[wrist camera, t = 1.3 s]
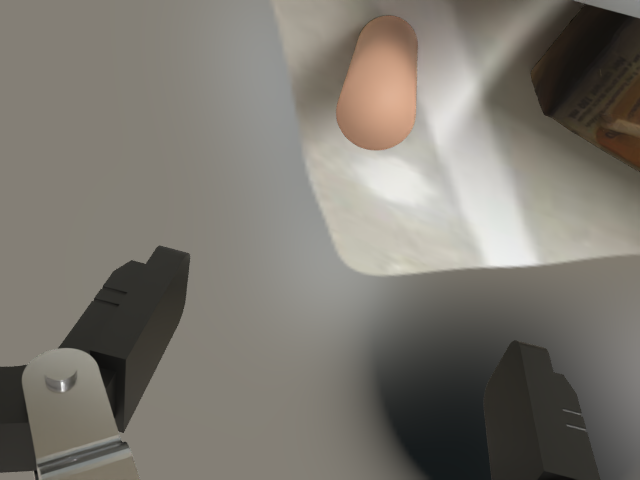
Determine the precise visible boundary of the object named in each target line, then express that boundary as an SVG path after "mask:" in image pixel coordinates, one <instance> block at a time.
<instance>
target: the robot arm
mask: <svg viewBox="0 0 640 480" xmlns="http://www.w3.org/2000/svg"><path fill="white" fill-rule="evenodd" d="M189 263H190V254H189V253H186V252H182V251H178V250H175V249H171V248H167V247H163V246H158V247H157V248H156V249H155V251H154V252H153V254H152V256H151V257H150V259H149V260H148V262H147V263H146V264H144V263H140V262H136V261H132V260H131V261H130V262H128V263H126V264H125V265H123V266H121V267H120V268H118V269H116V270H115V271H114V272H113V273H112V274H111V276H110V277H109V279H108V280H107V281H106V283H105V284H104V285H103V288H102V289H101V290H100V291H99V293H98V294H97V295H96V297H95V298H94V301H92V302H91V304H90V305H89V306H88V308H87V309H86V311H85V312H84V314H83V315H82V316H81V317H80V319H79V320H78V322H77V323H76V325H75V326H74V327H73V329H72V330H71V331H70V333H69V334H68V336H67V337H66V338H65V340H64V341H63V343H62V344H61V345H60V346H59V348H58V349H54V350H50V351H47V352H45V353H42V354H41V355H39V356H37V357H36V358H34V359H33V360H32V361H31V362H30V363H29V364H28V365H23V366H14V367H0V472H1V473H2V472H18V471H33V474H34V480H140V477H139V474H138V471H137V468H136V465H135V462H134V459H133V455H132V452H131V450H130V448H129V445H128V444H127V443H126V442H122V441H121V438H120V436H119V432H122V433H124V431H125V429H126V427H127V425H128V423H129V421H130V419H131V417H132V415H133V413H134V411H135V409H136V407H137V405H138V403H139V401H140V399H141V397H142V395H143V393H144V391H145V389H146V387H147V385H148V383H149V381H150V379H151V378H152V376H153V373H154V372H155V370H156V368H157V365H158V364H159V362H160V360H161V358H162V355H163V354H164V352H165V350H166V348H167V346H168V344H169V342H170V339H171V338H172V336H173V334H174V332H175V330H176V328H177V326H178V324H179V321H180V319H181V316H182V313H183V309H184V305H185V300H186V291H187V282H188V272H189ZM484 414H485V423H486V432H487V441H488V450H489V459H490V468H491V477H492V480H600V477H599V473H598V469H597V466H596V462H595V459H594V455H593V451H592V448H591V444H590V441H589V437H588V434H587V432H585V430H586V427H585V423H584V419H583V417H581V409H580V405H579V402H578V398H577V394H576V393H575V391H574V390H573V388H572V387H571V385H570V384H569V382H568V381H567V380H566V378H565V377H564V375H562V374H558V373H554V372H553V369H552V365H551V360H550V356H549V353H548V351H547V349H546V348H543V347H539V346H536V345H531V344H528V343H524V342H520V341H517V340H514V341H513V342H511V343H510V345H509V347H508V348H507V350H506V352H505V353H504V355H503V357H502V359H501V360H500V362H499V364H498V365H497V367H496V369H495V371H494V372H493V374H492V376H491V378H490V379H489V382H488V384H487V386H486V390H485V395H484ZM118 431H119V432H118Z"/></svg>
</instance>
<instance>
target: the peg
mask: <svg viewBox="0 0 640 480" xmlns="http://www.w3.org/2000/svg"><path fill="white" fill-rule="evenodd" d="M417 48H418V45H417V37H416V34H415V32H414V30H413V29H412V27H411V26H410V25H409V24H408V23H407V22H406V21H404V20H403V19H401V18H399V17H396V16H381V17H378V18H375V19H373V20H372V21H370V22H369V23H368V24H367V25H366V26H365V27H364V28H363V30H362V31H361V33H360V35H359V38H358V41H357V44H356V48H355V51H354V54H353V57H352V60H351V63H350V66H349V69H348V72H347V75H346V78H345V81H344V85H343V88H342V91H341V94H340V97H339V100H338V103H337V108H336V116H337V122H338V125H339V127H340V129H341V131H342V133H343V134H344V135H345V137H346V138H347V139H348V140H350V141H351V142H352V143H354V144H355V145H357V146H359V147H361V148H364V149H369V150H384V149H388V148H391V147H393V146H396V145H397V144H399V143H400V142H402V141H403V140H404V139H405V138H406V137H407V136H408V134H409V133H410V131H411V130H412V128H413V125H414V122H415V117H416V87H417Z"/></svg>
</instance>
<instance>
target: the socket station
mask: <svg viewBox="0 0 640 480" xmlns="http://www.w3.org/2000/svg"><path fill="white" fill-rule="evenodd" d="M573 1H577V2H581V3H585V4H588V5H592V6H596V7H600V8H603V9H607V10H611V11H615V12H618V13H622V14H626V15H629V16H633V17H637V18H640V0H573Z"/></svg>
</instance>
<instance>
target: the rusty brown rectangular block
mask: <svg viewBox="0 0 640 480" xmlns="http://www.w3.org/2000/svg"><path fill="white" fill-rule="evenodd" d="M531 78H532V82H533V85H534V88H535V92H536V95H537V96H538V100H539V103H540V106H541V108H542V111H543V113H544V115H546V116H549V117H552V118H553V119H554V120H556V121H557V122H559V123H560V124H562V125H563V126H565V127H566V128H567V129H569V130H570V131H572V132H574V133H575V134H577V135H579V136H581V137H582V138H584V139H585V140H587V141H589V142H590V143H592V144H593V145H595V146H596V147H598V148H600V149H601V150H603V151H605V152H606V153H608V154H610V155H612V156H613V157H615V158H617V159H618V160H620V161H622V162H623V163H625V164H627V165H628V166H630V167H632V168H634V169H635V170H637V171H639V172H640V18H637V17H633V16H629V15H626V14H622V13H618V12H615V11H611V10H607V9H603V8H600V7H596V6H592V5H588V4H585V6H584V7H583V8H582V9H581V11H580V12H579V13H578V14H577V15H576V17H575V18H574V19H573V20H572V21H571V22H570V23H569V25H568V26H567V27H566V28H565V30H564V31H563V32H562V34H561V35H560V36H559V37H558V39H557V40H556V41H555V42H554V44H553V45H552V46H551V47H550V48H549V50H548V51H547V52H546V54H545V55H544V56H543V57H542V58H541V60H540V61H539V62H538V63H537V64H536V66H535V67H534V68H533V70H532V71H531Z"/></svg>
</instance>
